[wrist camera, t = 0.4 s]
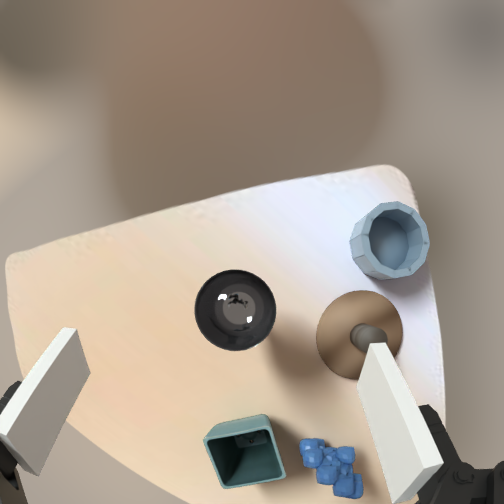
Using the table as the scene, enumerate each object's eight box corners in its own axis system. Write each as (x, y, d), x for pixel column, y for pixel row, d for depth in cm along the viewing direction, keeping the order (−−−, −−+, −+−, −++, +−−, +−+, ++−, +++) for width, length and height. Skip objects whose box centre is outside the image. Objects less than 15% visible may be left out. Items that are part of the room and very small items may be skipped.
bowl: (422, 250, 45) (440, 245, 39) (378, 292, 45) (393, 292, 39) (383, 199, 46) (397, 188, 40) (337, 239, 46) (346, 232, 40)
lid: (413, 337, 44) (435, 343, 37) (349, 393, 43) (362, 409, 36) (366, 272, 45) (383, 269, 38) (298, 329, 45) (303, 336, 38)
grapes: (369, 448, 42) (393, 485, 30) (339, 475, 41) (355, 517, 29) (319, 411, 43) (333, 446, 31) (288, 441, 43) (292, 482, 31)
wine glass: (232, 266, 46) (215, 255, 31) (283, 290, 45) (290, 290, 31) (209, 316, 46) (181, 328, 31) (259, 340, 45) (254, 364, 30)
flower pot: (284, 449, 42) (287, 478, 34) (230, 460, 43) (222, 490, 34) (270, 401, 44) (270, 425, 35) (213, 413, 44) (201, 438, 35)
